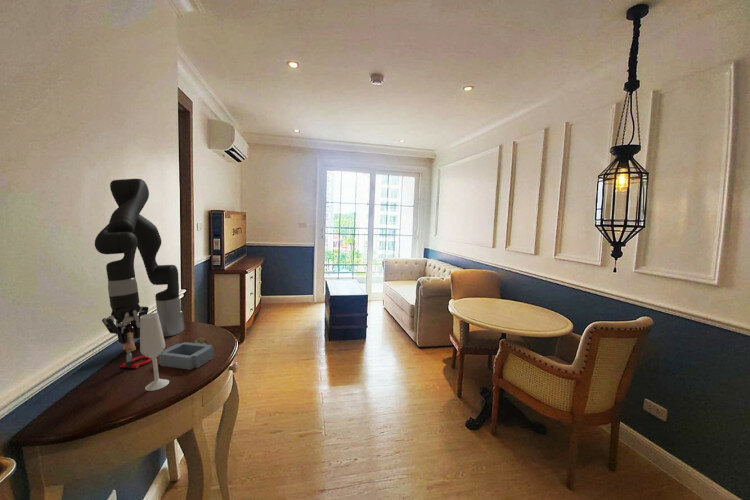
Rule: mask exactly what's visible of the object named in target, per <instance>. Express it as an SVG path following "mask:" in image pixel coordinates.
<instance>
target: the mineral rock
mask: <svg viewBox="0 0 750 500" xmlns="http://www.w3.org/2000/svg"><path fill="white" fill-rule="evenodd" d="M190 343H198V344H207V345H208V342H207V339H205V338H204V337H198V338H195V339H194V340H192V341H191V342H190Z"/></svg>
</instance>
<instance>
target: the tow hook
mask: <svg viewBox="0 0 750 500" xmlns="http://www.w3.org/2000/svg"><path fill="white" fill-rule="evenodd" d="M125 357H126V361H125V363H121V365H120V368H126V369H139V367H141V366H144V365H148V364H149V363H153V362H152V358H149V357H147V356H144V355H141V356H136V357H134V358H133V354H132V351H130V352H126V355H125ZM145 359H146V360H145ZM139 360H145V361H142V362H136V361H139ZM135 362H136V363H135Z"/></svg>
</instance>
